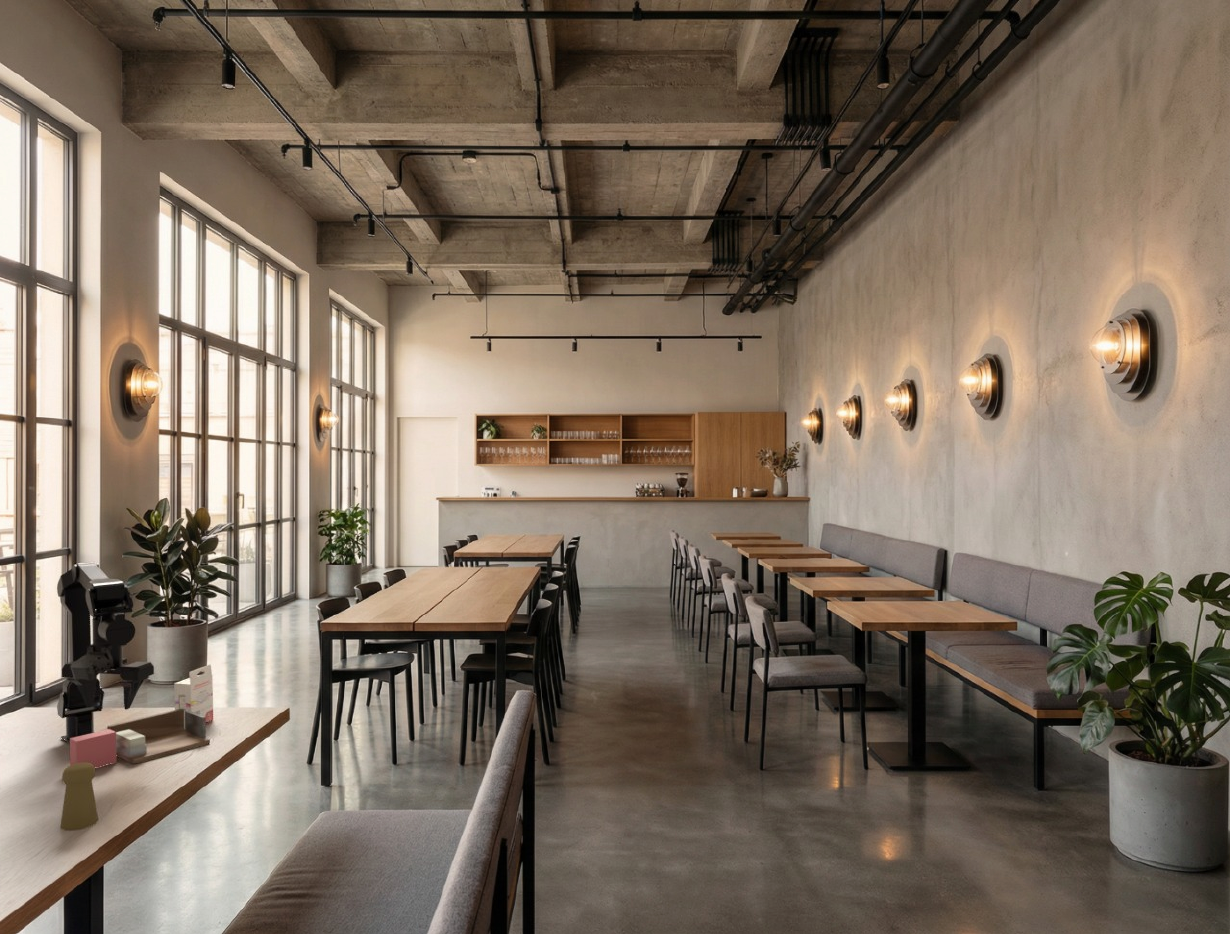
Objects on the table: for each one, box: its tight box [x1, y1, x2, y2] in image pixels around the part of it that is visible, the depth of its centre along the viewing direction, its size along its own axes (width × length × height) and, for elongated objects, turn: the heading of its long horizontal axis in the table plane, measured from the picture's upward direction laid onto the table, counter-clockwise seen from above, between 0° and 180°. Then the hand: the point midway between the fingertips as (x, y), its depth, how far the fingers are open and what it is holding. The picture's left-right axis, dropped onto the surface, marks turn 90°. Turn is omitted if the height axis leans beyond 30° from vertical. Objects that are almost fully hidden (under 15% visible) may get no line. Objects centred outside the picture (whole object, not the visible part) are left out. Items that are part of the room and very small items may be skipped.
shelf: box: [106, 709, 211, 764], centre depth 201 cm, size 14×17×6 cm
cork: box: [60, 762, 99, 832], centre depth 159 cm, size 6×6×11 cm
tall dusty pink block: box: [69, 729, 117, 768], centre depth 189 cm, size 4×8×7 cm, turn 142°
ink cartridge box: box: [173, 664, 214, 729], centre depth 219 cm, size 9×5×15 cm, turn 168°
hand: (108, 708), depth 190 cm, fingers open, 9 cm apart
